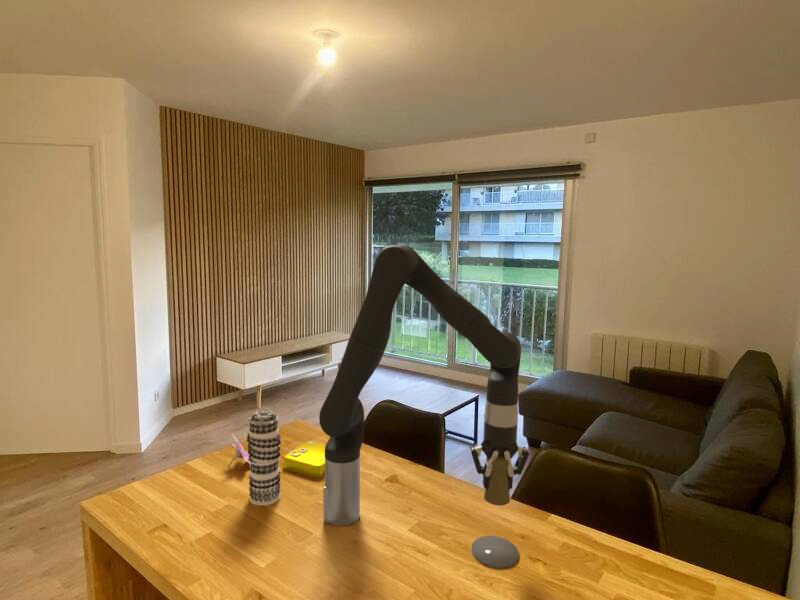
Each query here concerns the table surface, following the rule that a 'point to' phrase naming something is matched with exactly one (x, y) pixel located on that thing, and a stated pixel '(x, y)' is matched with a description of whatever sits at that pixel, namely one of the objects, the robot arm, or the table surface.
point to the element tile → (307, 459)
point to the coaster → (495, 551)
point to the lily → (240, 451)
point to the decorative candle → (264, 458)
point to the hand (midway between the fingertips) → (497, 489)
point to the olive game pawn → (498, 483)
